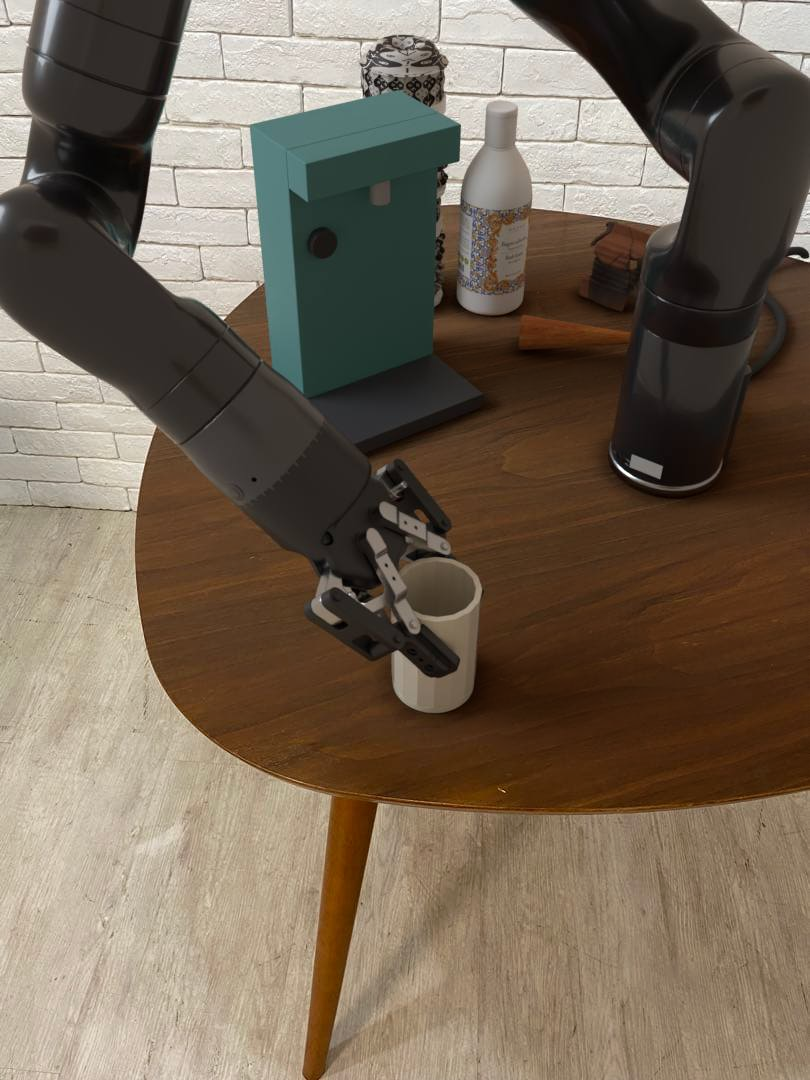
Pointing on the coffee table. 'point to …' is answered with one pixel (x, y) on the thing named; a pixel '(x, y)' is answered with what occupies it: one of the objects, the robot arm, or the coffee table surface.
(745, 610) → the coffee table surface
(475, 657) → the container
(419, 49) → the patterned cylindrical canister
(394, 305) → the coffee maker
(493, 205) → the bath foam
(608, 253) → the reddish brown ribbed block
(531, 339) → the wooden cone
